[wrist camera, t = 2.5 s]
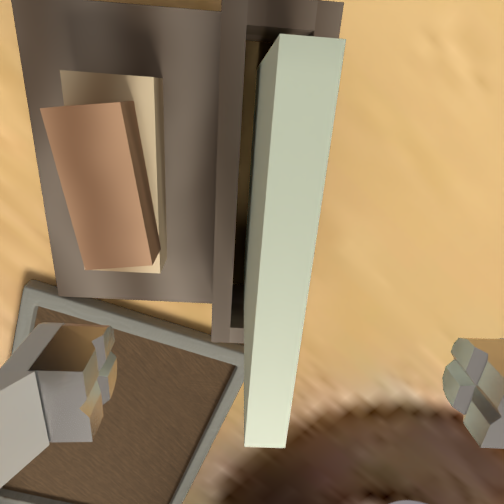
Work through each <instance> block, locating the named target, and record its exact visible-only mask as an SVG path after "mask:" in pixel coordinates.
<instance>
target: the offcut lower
mask: <svg viewBox="0 0 504 504" xmlns="http://www.w3.org/2000/svg"><path fill="white" fill-rule="evenodd" d="M60 76H61V84H62V92H63V100H64V106H71V105H84V104H97V103H110V102H123V101H134V105H135V111H136V116H137V121H138V127H139V132H140V138H141V143H142V149H143V154H144V159H145V165H146V170H147V176H148V181H149V186H150V192H151V197H152V203H153V208H154V213H155V219H156V224H157V230H158V235H159V241H160V246H161V250H160V252H159V254H158V256H157V258H156V260H155V262H154V263H153V265H152V266H138V267H124V268H111V269H97V270H100V271H120V272H140V273H159V274H160V273H161V271H162V268H163V266H164V264H165V262H166V260H167V232H166V192H165V151H164V111H163V78H156V77H145V76H132V75H118V74H105V73H92V72H79V71H66V70H60ZM84 269H85V267H84Z"/></svg>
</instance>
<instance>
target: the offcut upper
mask: <svg viewBox="0 0 504 504" xmlns="http://www.w3.org/2000/svg"><path fill="white" fill-rule="evenodd" d="M40 111H41V114H42V118H43V122H44V125H45V129H46V132H47V136H48V139H49V143H50V146H51V150H52V153H53V157H54V161H55V164H56V168H57V171H58V175H59V178H60V182H61V185H62V189H63V193H64V196H65V200H66V203H67V207H68V210H69V214H70V217H71V221H72V225H73V228H74V232H75V235H76V239H77V242H78V246H79V249H80V253H81V256H82V260H83V264H84V267H85V270H97V269H111V268H124V267H138V266H152V265H153V263H154V262H155V260H156V258H157V256H158V254H159V252H160V250H161V246H160V241H159V235H158V230H157V224H156V219H155V213H154V208H153V203H152V197H151V192H150V186H149V181H148V176H147V170H146V165H145V159H144V154H143V149H142V143H141V138H140V132H139V127H138V121H137V116H136V111H135V105H134V101H123V102H110V103H97V104H84V105H71V106H59V107H48V108H40Z"/></svg>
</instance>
